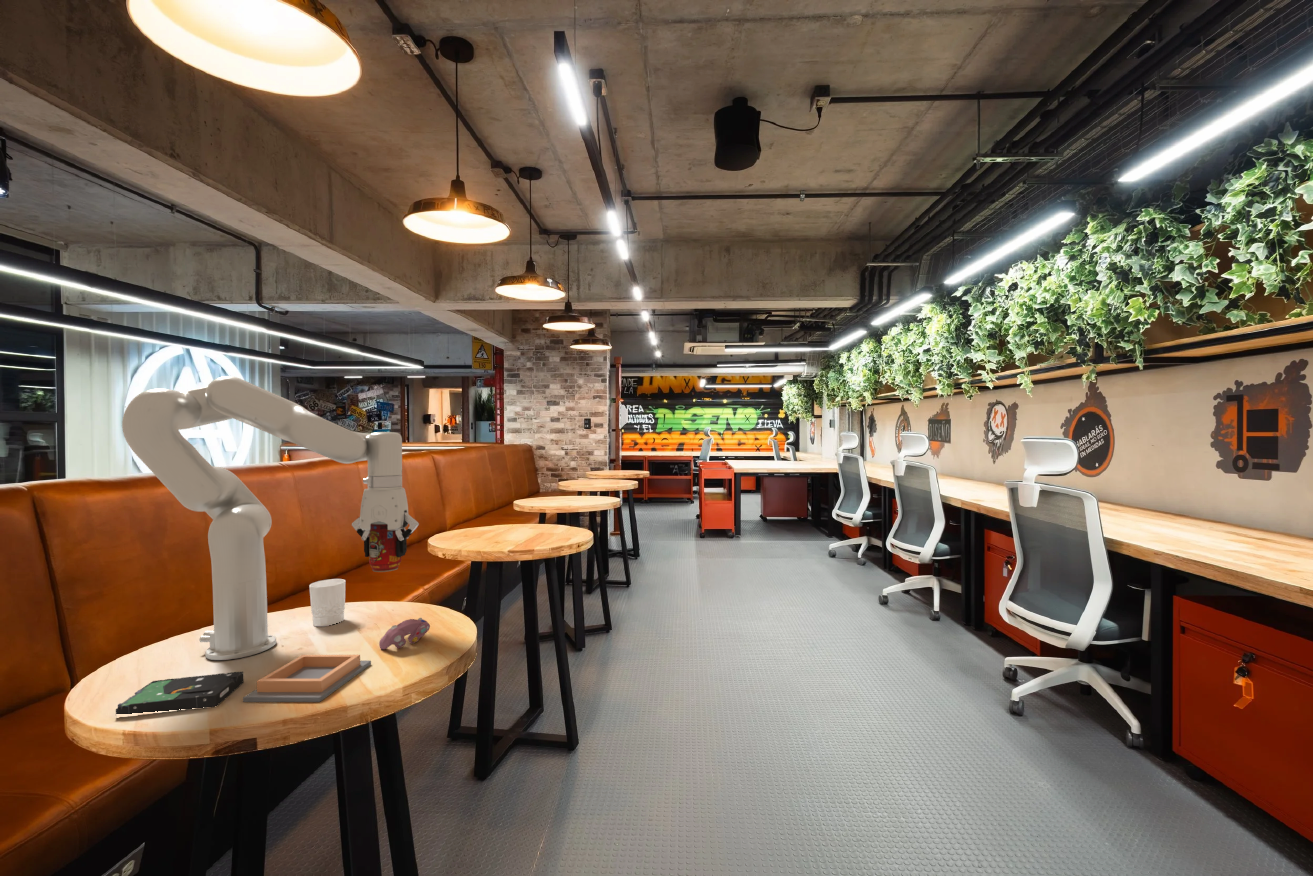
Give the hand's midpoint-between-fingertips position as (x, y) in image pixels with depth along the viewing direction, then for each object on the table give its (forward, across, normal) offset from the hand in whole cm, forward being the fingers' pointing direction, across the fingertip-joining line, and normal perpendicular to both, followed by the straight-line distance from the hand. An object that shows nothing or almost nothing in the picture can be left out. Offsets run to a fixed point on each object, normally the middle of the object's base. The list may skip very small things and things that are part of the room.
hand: (385, 555), depth 136 cm
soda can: (+4, 0, 0) cm, 4 cm away
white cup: (+18, -17, +4) cm, 25 cm away
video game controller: (+18, +11, -11) cm, 23 cm away
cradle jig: (+18, +2, -30) cm, 35 cm away
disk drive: (+19, -17, -37) cm, 45 cm away
